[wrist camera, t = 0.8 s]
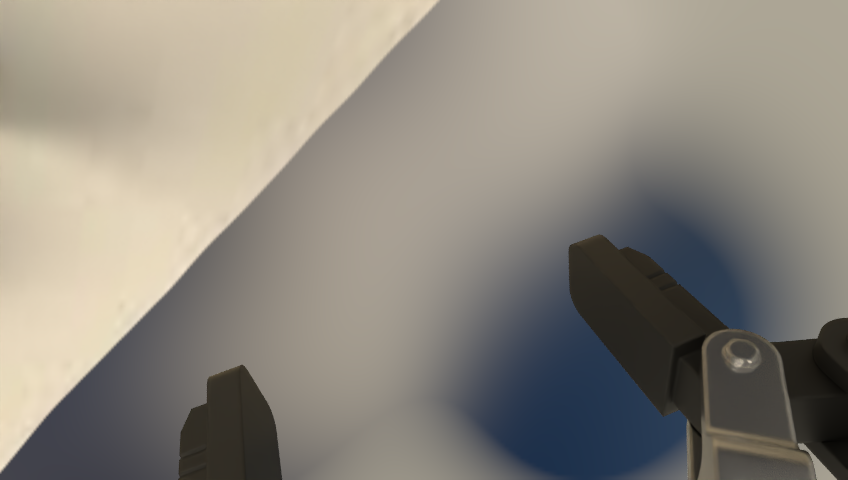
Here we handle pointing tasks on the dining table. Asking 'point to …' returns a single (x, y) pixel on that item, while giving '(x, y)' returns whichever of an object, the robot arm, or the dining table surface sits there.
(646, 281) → the robot arm
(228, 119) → the dining table surface
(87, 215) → the dining table surface
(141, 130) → the dining table surface
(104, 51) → the dining table surface
